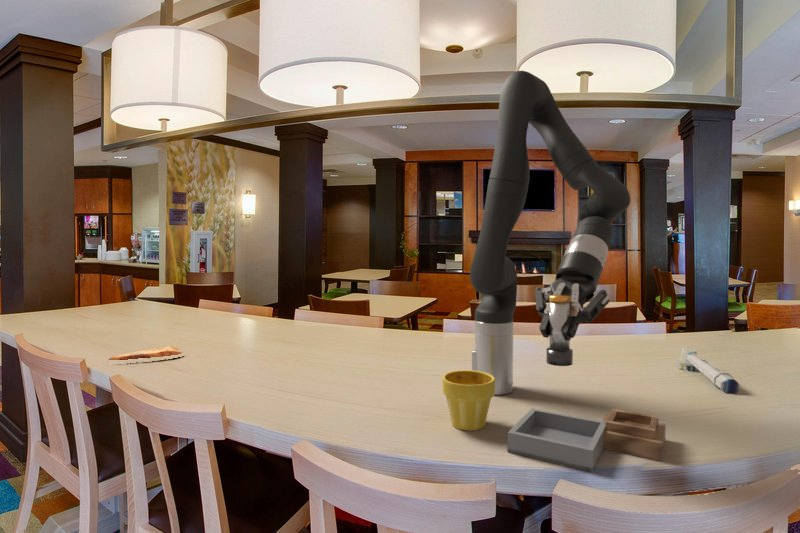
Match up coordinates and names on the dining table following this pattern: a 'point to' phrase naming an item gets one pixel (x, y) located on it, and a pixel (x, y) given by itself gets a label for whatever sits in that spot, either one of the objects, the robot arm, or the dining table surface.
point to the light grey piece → (707, 370)
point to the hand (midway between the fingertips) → (555, 335)
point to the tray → (558, 439)
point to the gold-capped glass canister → (559, 331)
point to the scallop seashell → (149, 353)
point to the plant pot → (468, 397)
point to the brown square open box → (634, 434)
